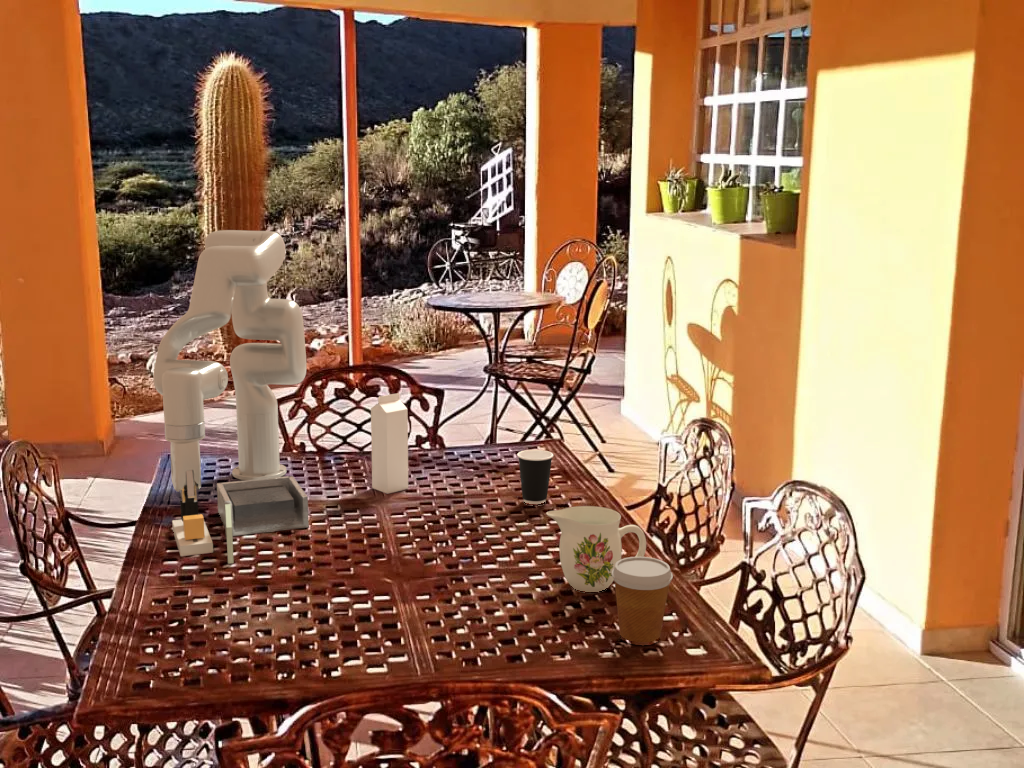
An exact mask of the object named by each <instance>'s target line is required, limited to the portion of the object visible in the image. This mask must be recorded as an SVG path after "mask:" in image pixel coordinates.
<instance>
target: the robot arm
mask: <svg viewBox="0 0 1024 768" xmlns="http://www.w3.org/2000/svg"><path fill="white" fill-rule="evenodd" d="M285 257H286V245H285V241H284V239H283V237H282V236H281V235H280V234H279V233H277V232H276V231H270V230H240V229H237V230H236V229H226V230H223V229H222V230H215V231H211V232H210V233H208V234H207V235H206V237H205V239H204V249H203V250H202V251H201V253H200V254H199V256H198V261H197V265H196V269H195V275H194V281H193V286H192V291H191V295H190V301H189V306H188V310H187V311H186V312H185V314H184V315H181V317H180V318H179V319H177V320H176V321H175V322H174V324H172V325H171V327H170V328H169V329H168V330H167V331H166V333H165V334H164V336H163V337H162V338H161V340H160V343H159V345H158V348H157V352H156V357H155V358H156V359H155V363H154V366H153V367H154V368H153V377H152V378H153V385H154V388H155V390H156V391H157V393H158V394H160V395H161V396H162V402H163V403H162V405H163V420H164V437H165V441H166V442H170V472H171V473H170V474H171V476H170V477H171V484H172V486H173V489H174V491H176V492H179V493H180V502H179V504H180V520H182V521H183V516H190V515H199V501H198V497H197V490H200V488H201V489H202V474H201V473H202V470H201V469H202V467H201V466H202V465H201V448H200V447H201V446H200V441H202V440H203V439H205V438H206V427H205V412H204V411H205V409H204V408H205V407H204V405H205V404H204V400H205V401H206V400H209V399H214V398H217V397H219V396H221V394H222V393H223V392H225V390H226V389H227V386H228V381H229V374H228V372H227V369H226V367H225V366H224V365H223V364H222V363H220V362H218V361H214V360H197V359H196V360H194V359H178V357H179V355H180V352H181V351H182V350H183V348H185V346H186V345H187V344H188V343H190V342H191V341H194V340H195V339H196V338H198V337H201V336H204V335H206V334H208V333H210V332H213V331H214V330H218V329H220V328H222V327H224V326H225V325H227V324H228V323H229V322H230V320H231V319H232V326H233V331H234V334H235V335H236V336H237V337H239V338H240V339H245V340H254V341H255V340H257V341H258V340H259V341H261V340H262V341H279V342H280V343H271V342H269V343H268V342H246V343H243V344H242V343H241V344H239V345H237V346H236V347H234V348H233V350H232V351H231V353H230V356H229V366H230V371H231V375H232V381H233V387H234V393H235V406H236V407H235V408H236V410H235V412H236V426H237V427H236V429H237V430H236V432H237V433H236V434H237V435H236V436H237V453H238V465H237V466H236V467H234V468H233V469H232V471H231V473H232V477H233V478H235V479H237V480H239V481H245V480H255V479H265V478H275V477H284V476H285V475H286V474H287V467H286V465H284V464H282V463H280V441H279V440H280V439H279V438H280V437H279V436H280V435H279V409H278V408H279V407H278V400H277V398H276V395H275V393H274V392H273V391H272V389H271V388H270V387H269V385H283V386H285V385H287V386H290V385H292V386H293V385H298V384H300V383H303V381H304V379H305V377H306V375H307V365H308V364H307V353H306V352H307V351H306V339H305V338H306V337H305V326H304V317H303V316H304V315H303V313H302V310H301V307H300V305H299V304H298V303H297V302H296V301H294V300H292V299H287V298H271V297H270V296H269V293H268V285H267V284H268V281H269V280H270V279H272V277H274V275H275V274H276V273H277V271H278V270H280V268H281V267H282V265H283V263H284V260H285Z"/></svg>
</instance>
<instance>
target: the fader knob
mask: <svg viewBox="0 0 1024 768" xmlns="http://www.w3.org/2000/svg"><path fill="white" fill-rule="evenodd" d="M204 518H205V517H204V515H203V514H201V513H200V514H199V513H198V515H190V516H183V528H184V538H185V540H189V539H198V538H205V535H204V522H205V519H204Z"/></svg>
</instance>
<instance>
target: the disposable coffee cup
mask: <svg viewBox="0 0 1024 768" xmlns="http://www.w3.org/2000/svg"><path fill="white" fill-rule="evenodd" d="M673 575H674V574H673V572H672V571H671V568H670V565H669V564H668V563H667V562H665V561H664V560H661V559H658V558H654V557H649V556H644V557H635V556H630V557H624V558H621V560H619V561H617V562H616V563H615V567H614V569H613V570H612V576H613V579H614V580H613V582H614V589H615V596H616V597H615V599H616V608H617V609H616V610H617V620H618V627H619V628H618V629H619V631H618V632H619V636H620V635H621V636H622V637H623V638H625V639H627V640H630V641H636V642H650V641H654V640H656V639H658V638H659V637H660V638H661V634H662V628H663V624H664V616H665V610H666V604H667V599H668V594H669V587H670V584H671V582H672V580H673V577H674V576H673Z"/></svg>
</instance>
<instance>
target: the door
mask: <svg viewBox="0 0 1024 768" xmlns="http://www.w3.org/2000/svg"><path fill="white" fill-rule="evenodd" d="M224 511H225V527H224V529H225V530H224V531H225V538H226V547H227V552H226V553H227V564H235V563H234V562H235V560H234V546H233V545H234V544H233V543H234V541H233V537H234V536H233V526H232V504H231V501H225V502H224Z"/></svg>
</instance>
